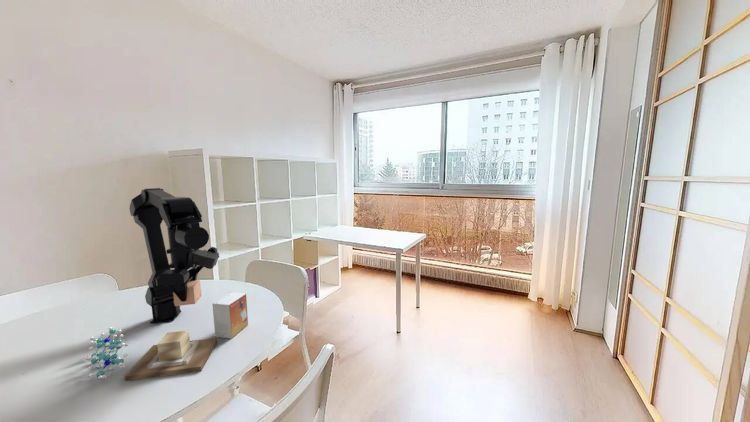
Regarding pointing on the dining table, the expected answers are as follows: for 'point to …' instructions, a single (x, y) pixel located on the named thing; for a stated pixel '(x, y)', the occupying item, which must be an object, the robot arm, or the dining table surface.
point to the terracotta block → (190, 294)
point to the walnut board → (173, 361)
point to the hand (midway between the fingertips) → (188, 297)
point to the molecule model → (103, 356)
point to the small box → (230, 315)
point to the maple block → (174, 346)
